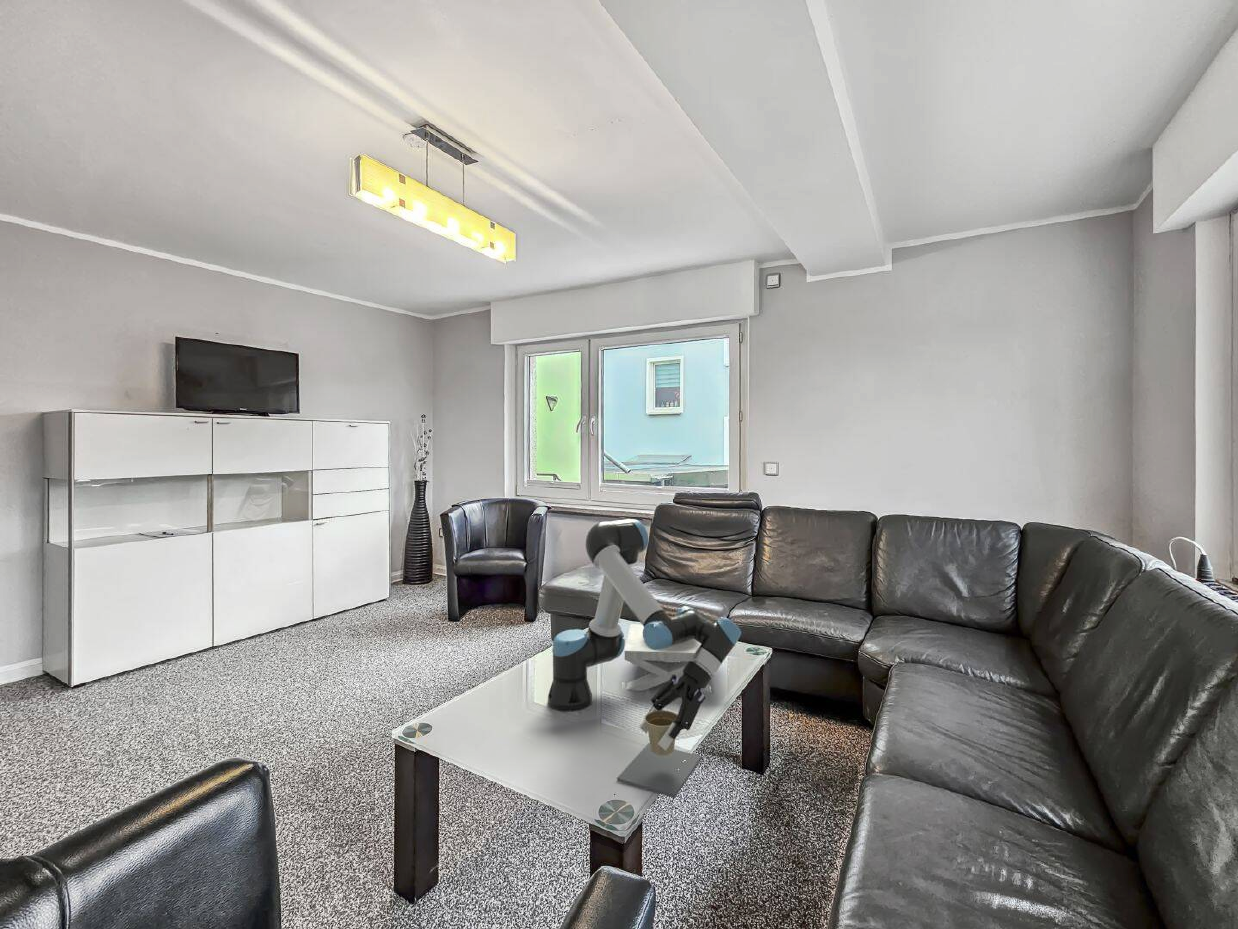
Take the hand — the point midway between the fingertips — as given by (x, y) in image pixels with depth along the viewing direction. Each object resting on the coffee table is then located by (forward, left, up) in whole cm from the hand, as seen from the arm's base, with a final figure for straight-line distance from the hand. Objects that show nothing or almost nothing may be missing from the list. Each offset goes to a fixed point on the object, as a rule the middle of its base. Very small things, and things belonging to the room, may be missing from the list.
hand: (651, 738), depth 147 cm
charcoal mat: (-3, +1, -9) cm, 10 cm away
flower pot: (-3, +2, -4) cm, 5 cm away
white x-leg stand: (-65, -22, -10) cm, 69 cm away
